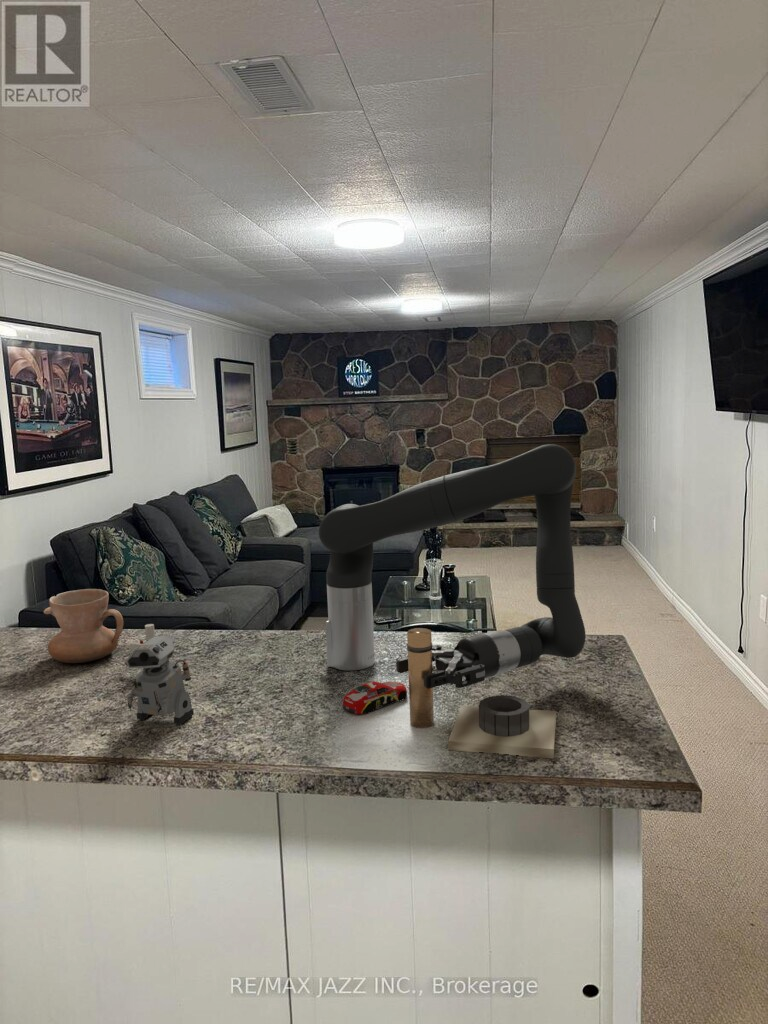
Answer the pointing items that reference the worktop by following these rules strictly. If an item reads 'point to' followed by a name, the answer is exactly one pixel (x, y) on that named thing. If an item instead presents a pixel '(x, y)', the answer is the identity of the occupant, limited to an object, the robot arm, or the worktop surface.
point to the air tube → (420, 677)
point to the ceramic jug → (83, 626)
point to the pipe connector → (149, 634)
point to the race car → (373, 696)
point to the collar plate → (504, 728)
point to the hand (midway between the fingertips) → (410, 674)
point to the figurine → (159, 681)
